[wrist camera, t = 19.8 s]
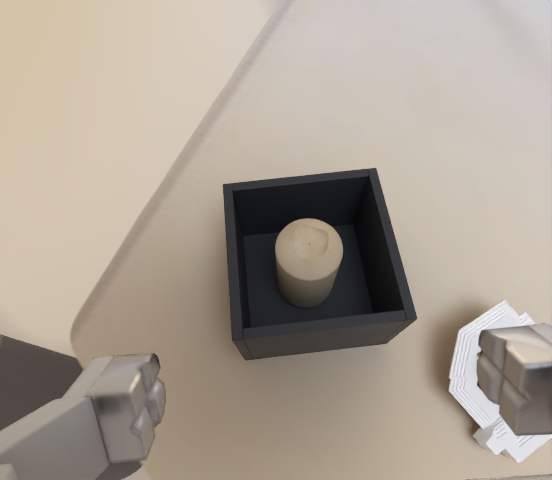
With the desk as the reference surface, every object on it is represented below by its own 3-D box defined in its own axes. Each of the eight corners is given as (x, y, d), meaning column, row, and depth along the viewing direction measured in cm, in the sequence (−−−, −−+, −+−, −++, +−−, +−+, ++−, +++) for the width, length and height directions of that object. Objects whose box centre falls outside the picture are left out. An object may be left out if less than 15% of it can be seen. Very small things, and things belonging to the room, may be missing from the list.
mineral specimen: (486, 277, 37) (546, 273, 30) (567, 369, 37) (648, 386, 30) (402, 365, 35) (446, 382, 28) (488, 464, 34) (556, 506, 27)
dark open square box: (245, 360, 36) (232, 340, 28) (236, 233, 42) (222, 183, 33) (386, 343, 37) (417, 319, 28) (358, 219, 42) (376, 167, 34)
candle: (268, 270, 39) (263, 225, 30) (316, 249, 40) (325, 199, 31) (291, 318, 37) (293, 284, 28) (341, 295, 38) (358, 255, 29)
